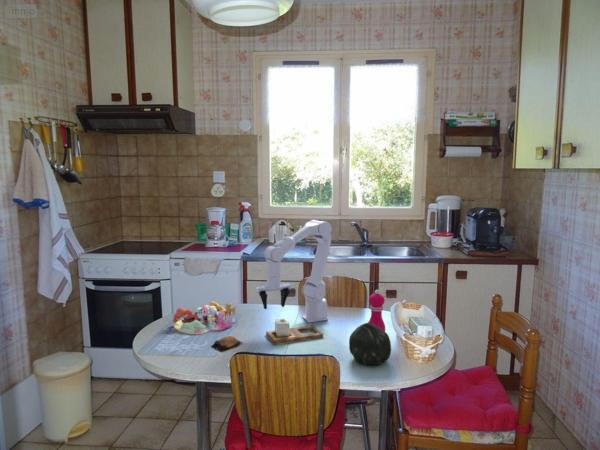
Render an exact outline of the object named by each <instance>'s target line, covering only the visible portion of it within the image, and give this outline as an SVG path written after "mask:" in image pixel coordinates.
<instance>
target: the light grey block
mask: <svg viewBox="0 0 600 450" xmlns="http://www.w3.org/2000/svg"><path fill="white" fill-rule="evenodd" d="M289 328H290V321H289V320H288V318H281V319H280V318H279V319H278V318H277V319H274V330H275V337H276V338H282V337H288V336H289Z"/></svg>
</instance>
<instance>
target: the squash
mask: <svg viewBox="0 0 600 450" xmlns="http://www.w3.org/2000/svg"><path fill="white" fill-rule="evenodd" d="M348 343H349V345H348V347H349V352H350V354H351V356H353V359H354V361H355V362H356V363H357V364H363V365H364V366H370V364H372V365H374V366H379V365H380V364H383V363H386V362H387V361H388V360H389V358H390V357H391V353H392V345H391V343H392V342H391V339H390V336H389V334H388V333H387V332H386V330H385V331H383V330H382V329H381V328H380V327H377V326H376V325H374V324H371V323H368V322H365V323H363V324H360V325H358V326H357V327H356V328H355V329H354V330H353V332H352V333H351V334H350V336H349V339H348Z"/></svg>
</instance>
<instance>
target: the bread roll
mask: <svg viewBox="0 0 600 450" xmlns="http://www.w3.org/2000/svg"><path fill="white" fill-rule="evenodd" d="M243 344H244V342H242V341H240V340H239V339H238V338H236V337H235V336H233V335H227V336H224V337H222V338H221V339H219V340H215V341H214V343H213V344H211V345H210V348H211V349H214V350H216V351H218V352H221V353H223V352H227V351H229V350H232V349H234V348H237V347H239V346H241V345H243Z"/></svg>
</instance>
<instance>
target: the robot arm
mask: <svg viewBox="0 0 600 450" xmlns="http://www.w3.org/2000/svg"><path fill="white" fill-rule="evenodd" d="M332 231H333V227H332V225H331V224H330V223H329V222H328V221H322V220H321V221H320V220H317V219H311V220H309V221H307V222H306V223H305V225H304V226H302V228H301V227H300V229H299V230H297V231H296V232H295V233H294V234H292V235H291V236H288V235H287V236H283V237H282V238H281V240H279V241H278V242H275V243H274V244H273V246H272V245H270V246H267V247H266V249H265V250H264V252H263V257H264V258H265V262H266V284H265V285H262V286H257V287H256V288H255V290H256V293H258V295H259V297H260V299H261V302H262V305H263V309H264V310H268V304H267V302H268V300H267V299H268V294H267V292H273V291H280V306H281V307H282V308H285V306H286V305H285V304H286V301H287V298H288V296H289V294H290V290H291V289H292V284H291V283H282V282H281V279H282V278H281V276H282V275H281V273H282V271H281V268H282V267H281V265H282V264H281V263H282V260H283V258H284V256H285V255H286V254H288V253H289V252H291V250H293V249H294V248H295V247H296V244H297V243H298V242H300V241H302V240H304V239H305V238H306V237H308V236H312V237H314V238H315V240H316V242H317V245H316V251H315V255H314V259H313V264H312V268H311V273H310V276H309V277H308V278H307V279H306V280H305V283H304V284H303V285H302V290H301V292H302V295H303V296H304V299H305V315H302V316H301V318H303V319H304V320H305V321H307V322H308V323H315V322H322V321H328V320H329V317H328V308H329V307H328V302H327V299H326V298H325V296H326V283H325V281H324V280H323V279H324V275H325V269H326V266H327V260H328V257H329V252H330V248H331V243H332V236H331V234H332Z"/></svg>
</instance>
